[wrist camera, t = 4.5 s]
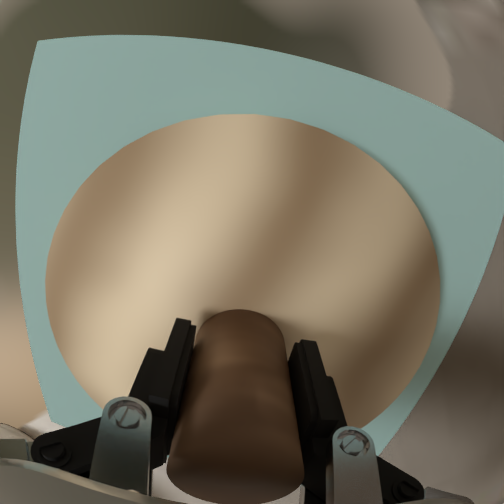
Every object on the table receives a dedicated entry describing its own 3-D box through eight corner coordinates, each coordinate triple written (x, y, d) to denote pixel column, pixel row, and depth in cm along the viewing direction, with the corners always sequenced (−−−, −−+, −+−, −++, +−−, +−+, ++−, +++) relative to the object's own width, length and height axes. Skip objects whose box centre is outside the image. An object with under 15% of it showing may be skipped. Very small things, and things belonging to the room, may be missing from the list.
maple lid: (473, 182, 11) (603, 232, 4) (349, 452, 17) (373, 546, 10) (68, 95, 10) (-74, 85, 3) (77, 411, 16) (35, 502, 9)
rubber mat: (512, 150, 11) (518, 151, 11) (364, 466, 18) (365, 470, 18) (42, 42, 9) (37, 41, 9) (53, 417, 17) (51, 421, 16)
